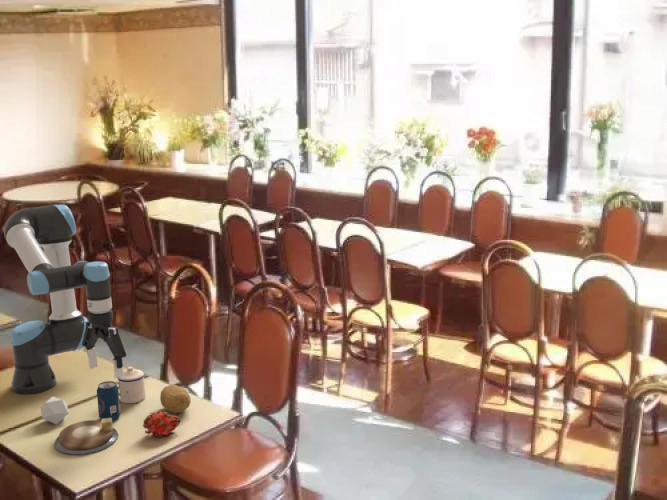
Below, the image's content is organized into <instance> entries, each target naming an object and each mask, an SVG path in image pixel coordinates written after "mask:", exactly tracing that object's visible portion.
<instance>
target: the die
mask: <svg viewBox="0 0 667 500" xmlns="http://www.w3.org/2000/svg"><path fill="white" fill-rule="evenodd" d="M40 413H41V418H42V420H45V421H47V422H49V423H51V424H54V425H58V424H59V423H60V422H61V421H62V420H63V419H64V418H66V416H67V415H69V408H68V403H67V401H65V400H63V399H61V398H59V397H55V396H53V395H52V396H51V397H50V398H49V399H47V401H46V402H45V403H43V404H42V405H41V407H40Z"/></svg>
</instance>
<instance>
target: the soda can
mask: <svg viewBox="0 0 667 500" xmlns="http://www.w3.org/2000/svg"><path fill="white" fill-rule="evenodd" d="M119 393H120V392H119V386H118V385H116V383H115V381H111V380H110V381H102V382H100V383H99V384H98V385H97V389H96V396H97V397H96V398H97V409H98V417H99V419H100V421H102V419H105V418H112V422H116V421H117V420H118V419H119V418H120V417H121V413H122V412H121V404H120V402H121V400H120V396H119Z"/></svg>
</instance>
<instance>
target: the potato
mask: <svg viewBox="0 0 667 500" xmlns="http://www.w3.org/2000/svg"><path fill="white" fill-rule="evenodd" d="M159 398H160V399H159V401H160V404H161V405H162V407H163V408H164V409H165V410H166V412H168V413H169V412H171V413H173V414H180V413H183V412H185V411H186V410H187V409H188V408H189V407H190V405H191V396H190V394H189V393H188V390H187V389H186V388H183V387H182V386H178V385H175V384H170V385H166V386H165V387H164V386H163V388H162V390H161V391H160V397H159Z"/></svg>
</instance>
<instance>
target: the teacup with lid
mask: <svg viewBox="0 0 667 500" xmlns="http://www.w3.org/2000/svg"><path fill="white" fill-rule="evenodd" d="M117 380H118V381H116V382H115V381H114V382H115V383H116V385H117V386H118V390H119V400H120V402H122V403H124V404H136V402H137V403H140V402H143V400H145V398H146V389H145V388H146V386H145V372H144V371H143V370H140V369H136V368H134V367H133V366H128V367H127V369H125V370H124V371H123V376H121V377H119V378H117Z"/></svg>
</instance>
